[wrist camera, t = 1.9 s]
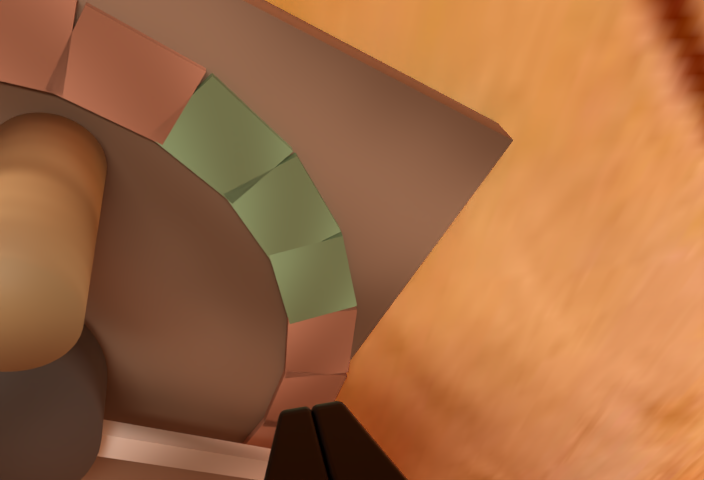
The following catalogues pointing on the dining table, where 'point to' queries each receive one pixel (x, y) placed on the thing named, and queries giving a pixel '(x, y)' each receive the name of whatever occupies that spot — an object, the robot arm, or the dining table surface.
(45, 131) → the peg dial
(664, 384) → the dining table surface
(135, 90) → the tuner board
